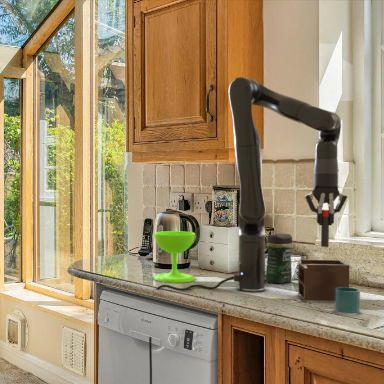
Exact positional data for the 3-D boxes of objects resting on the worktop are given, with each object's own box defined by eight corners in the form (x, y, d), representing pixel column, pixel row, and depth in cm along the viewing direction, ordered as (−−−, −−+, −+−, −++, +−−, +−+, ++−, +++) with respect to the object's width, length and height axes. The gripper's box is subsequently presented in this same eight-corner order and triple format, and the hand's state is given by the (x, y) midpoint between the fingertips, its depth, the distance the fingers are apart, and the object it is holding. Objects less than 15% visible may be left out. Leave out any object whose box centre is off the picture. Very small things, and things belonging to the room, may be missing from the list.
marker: (321, 246, 193) (322, 210, 193) (320, 245, 196) (320, 209, 195) (329, 247, 193) (330, 210, 193) (327, 245, 195) (328, 209, 195)
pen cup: (337, 315, 174) (338, 291, 174) (332, 309, 181) (332, 286, 181) (362, 315, 173) (362, 292, 173) (355, 310, 180) (356, 287, 180)
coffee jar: (278, 284, 220) (279, 235, 220) (262, 281, 227) (262, 233, 226) (295, 282, 226) (296, 233, 225) (279, 279, 232) (280, 231, 232)
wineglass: (202, 281, 228) (202, 234, 227) (163, 283, 222) (164, 236, 222) (184, 274, 243) (184, 230, 242) (147, 276, 237) (148, 231, 237)
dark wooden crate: (304, 301, 192) (304, 264, 191) (298, 294, 203) (298, 259, 202) (348, 302, 190) (349, 265, 190) (340, 295, 201) (340, 260, 201)
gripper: (345, 172, 196) (344, 224, 197) (302, 172, 198) (301, 223, 199) (351, 172, 189) (350, 226, 190) (306, 172, 190) (305, 225, 191)
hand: (325, 224), depth 194 cm, fingers closed on marker, 2 cm apart
